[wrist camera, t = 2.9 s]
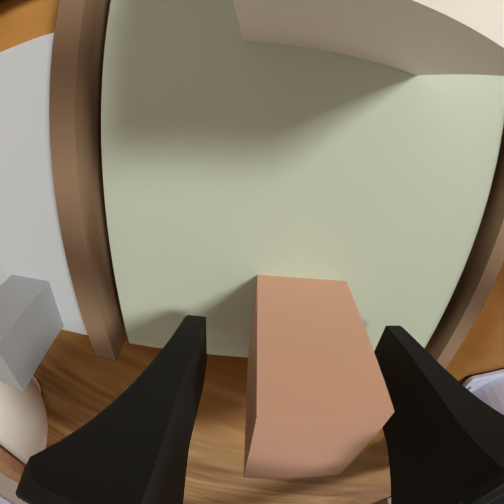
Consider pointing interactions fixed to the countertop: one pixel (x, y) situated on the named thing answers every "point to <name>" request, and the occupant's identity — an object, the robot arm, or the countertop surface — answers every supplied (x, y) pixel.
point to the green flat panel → (287, 212)
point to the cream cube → (386, 31)
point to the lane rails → (93, 202)
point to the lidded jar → (21, 427)
